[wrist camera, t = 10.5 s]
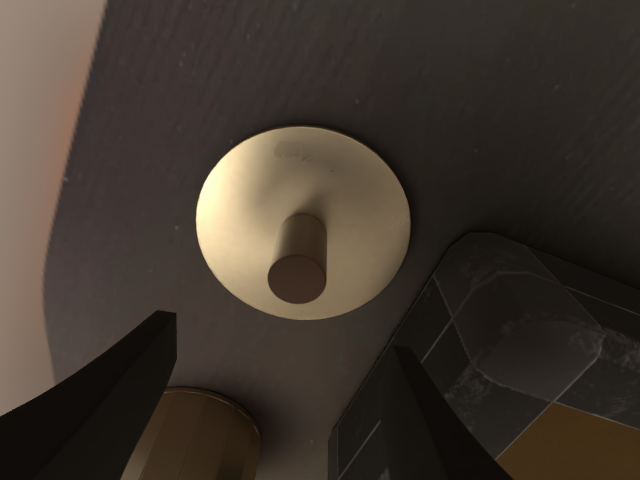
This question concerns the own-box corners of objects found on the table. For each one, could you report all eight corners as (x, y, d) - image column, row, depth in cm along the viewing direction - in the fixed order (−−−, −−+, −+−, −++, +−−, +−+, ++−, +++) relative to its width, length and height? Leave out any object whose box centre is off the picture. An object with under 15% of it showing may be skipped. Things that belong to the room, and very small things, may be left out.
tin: (129, 466, 30) (83, 566, 25) (120, 377, 26) (60, 474, 20) (255, 482, 31) (238, 583, 25) (267, 397, 26) (250, 497, 21)
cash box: (833, 351, 23) (1042, 482, 16) (600, 521, 32) (673, 652, 25) (468, 205, 19) (543, 297, 13) (319, 444, 28) (316, 574, 21)
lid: (199, 293, 22) (166, 359, 18) (204, 102, 17) (160, 126, 13) (380, 319, 23) (392, 389, 18) (433, 142, 18) (468, 178, 14)
